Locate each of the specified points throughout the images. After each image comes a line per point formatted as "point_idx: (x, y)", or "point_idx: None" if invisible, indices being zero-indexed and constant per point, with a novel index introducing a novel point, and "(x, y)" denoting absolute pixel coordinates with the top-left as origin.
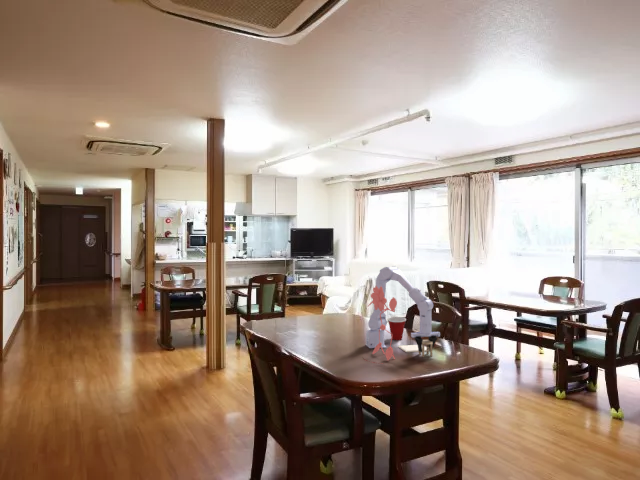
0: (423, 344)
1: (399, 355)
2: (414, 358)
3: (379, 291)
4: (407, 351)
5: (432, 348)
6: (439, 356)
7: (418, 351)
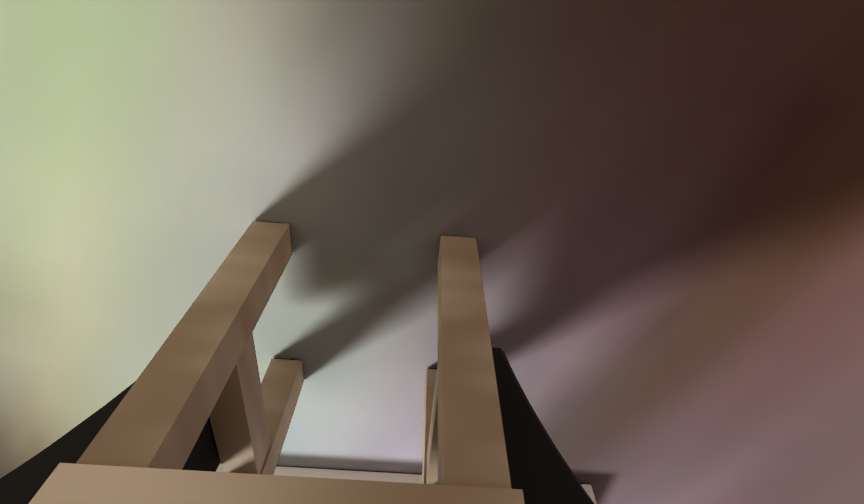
0: (491, 487)
1: (820, 396)
2: (736, 168)
3: None
4: None
5: None
6: (90, 173)
7: (391, 478)
